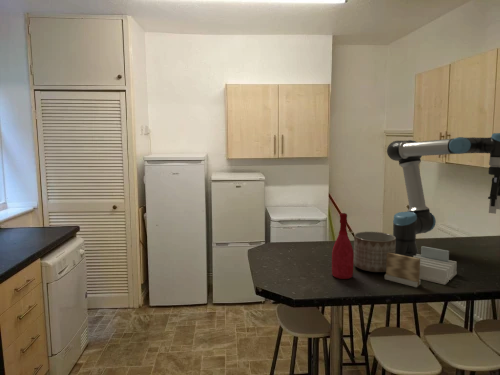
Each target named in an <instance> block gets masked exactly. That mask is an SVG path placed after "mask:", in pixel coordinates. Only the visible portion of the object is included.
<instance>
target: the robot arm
mask: <svg viewBox="0 0 500 375" xmlns="http://www.w3.org/2000/svg"><path fill="white" fill-rule="evenodd" d="M386 153H387V156H388V158H389V159H391V160H392V161H396V162H398V165H399V166H400V167H401V168H402V172H403V178H404V183H405V189H406V195H407V200H408V207H409V208H408V209H407V211H400V212H399V211H398V212H396V213H394V215H393V219H392V220H393V221H392V223H393V224H392V225H393V226H392V235H393V236H395V237H396V248H395V254H399V255H404V256H409V257H413V256H416V254H420V253H419V248H418V246H417V243H416V239H417V235H419V234H426V233H428V232H431V231H433V229H434V228H435V226H436V223H437V222H436V221H437V220H436V217H435V215H434V214H433V213H432V212H430V211H431V210H430V208H429V207H428V206H427V205H426V200H425V194H424V189H423V184H422V178H421V171H420V164H421V161H422V160H421V158H422V157H424V156H425V157H426V156H439V155H440V156H443V155H464V154H489V159H488V160H489V161H488V165H489V167H488V175H491V176H493V177H492V178H491V186H490V192H489V196H487V197H488V198H487V199H488V200H489V206H488V214H497V210H500V132H496V133H495V132H494V133H492V134H491V136H490V137H474V136H473V137H463V136H459V137H454V138H445V139H443V138H442V139H434V140H432V139H431V140H422V141H421V140H420V141H416V140H411V139H409V140H394V141H392V142H390V143H389V144H388V145H387V148H386Z"/></svg>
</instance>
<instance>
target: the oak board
mask: <svg viewBox="0 0 500 375" xmlns="http://www.w3.org/2000/svg"><path fill="white" fill-rule="evenodd" d="M385 274H387V275H391V276H395V277H399V278H403V279H407V280H411V281H415V282H418V287H419V286H420V285H419V280H420V279H419V276H420V259H419V258H414V257H409V256H404V255H399V254H394V253H389V252H388V253H387V263H386V272H385Z"/></svg>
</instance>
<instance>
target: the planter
mask: <svg viewBox="0 0 500 375" xmlns="http://www.w3.org/2000/svg"><path fill="white" fill-rule="evenodd" d="M395 248H396V237H395V236H393V234H390V233H386V232H381V231H380V232H379V231H360V232H359V231H358V232H356V233H354V236H353V252H354V264H353V266H354V267H356V268H358V269H359V270H363V271H366V272H372V273H386V263H387V253H388V252H389V253H394V254H395Z"/></svg>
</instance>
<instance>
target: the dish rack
mask: <svg viewBox="0 0 500 375" xmlns="http://www.w3.org/2000/svg"><path fill="white" fill-rule="evenodd" d="M413 257H414V258H419V259H420V276H419V280H423V281H428V282H432V283H437V284H441V285H447V284H448V283H449V280H450V281H451V280H452V279H453V278H454V277H455V276H456V275H457V264H458V263H457V261H455V260H450V250H447V249H441V248H435V247H429V246H424V245H423V246H421V248H420V253H419V254H416V256H413Z"/></svg>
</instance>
